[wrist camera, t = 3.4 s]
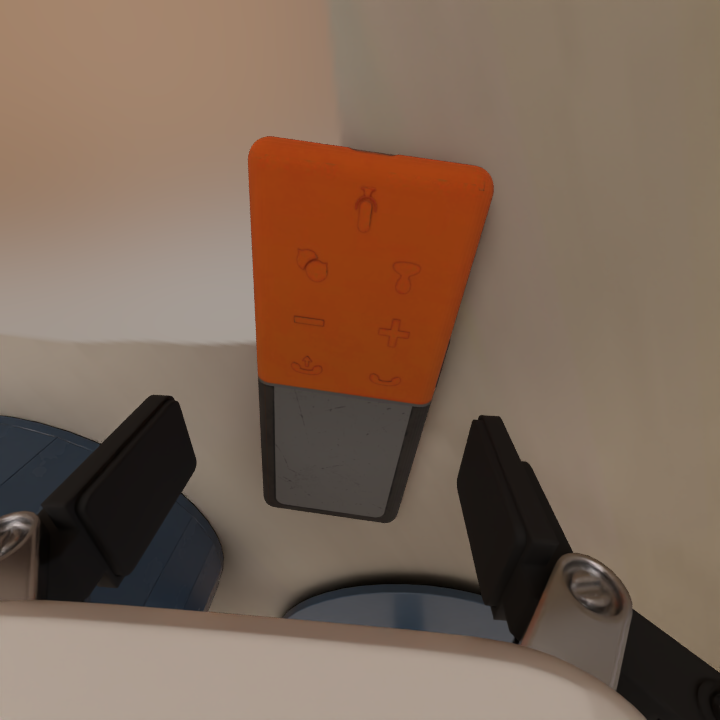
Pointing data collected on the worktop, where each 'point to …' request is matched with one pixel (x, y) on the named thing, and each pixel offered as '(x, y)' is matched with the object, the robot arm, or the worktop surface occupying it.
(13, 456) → the pot
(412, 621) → the lid
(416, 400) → the phone
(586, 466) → the worktop surface
